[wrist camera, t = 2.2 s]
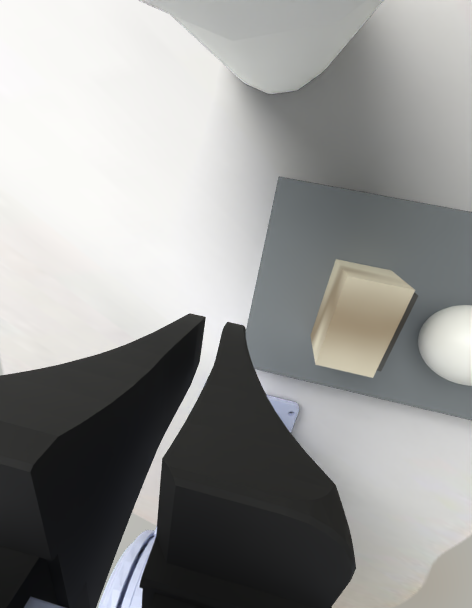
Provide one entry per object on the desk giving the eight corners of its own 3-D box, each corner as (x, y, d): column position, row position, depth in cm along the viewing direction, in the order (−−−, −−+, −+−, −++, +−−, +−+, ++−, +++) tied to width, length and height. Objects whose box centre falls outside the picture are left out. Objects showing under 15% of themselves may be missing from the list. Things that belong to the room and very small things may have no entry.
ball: (462, 361, 16) (513, 412, 13) (394, 346, 17) (425, 392, 13) (501, 302, 15) (571, 341, 11) (424, 286, 15) (469, 319, 11)
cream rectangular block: (365, 348, 17) (380, 379, 14) (310, 335, 17) (315, 364, 15) (398, 271, 15) (424, 291, 12) (335, 259, 15) (347, 276, 12)
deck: (528, 411, 20) (560, 441, 18) (243, 345, 21) (238, 365, 19) (667, 248, 15) (736, 261, 12) (279, 177, 16) (278, 176, 14)
